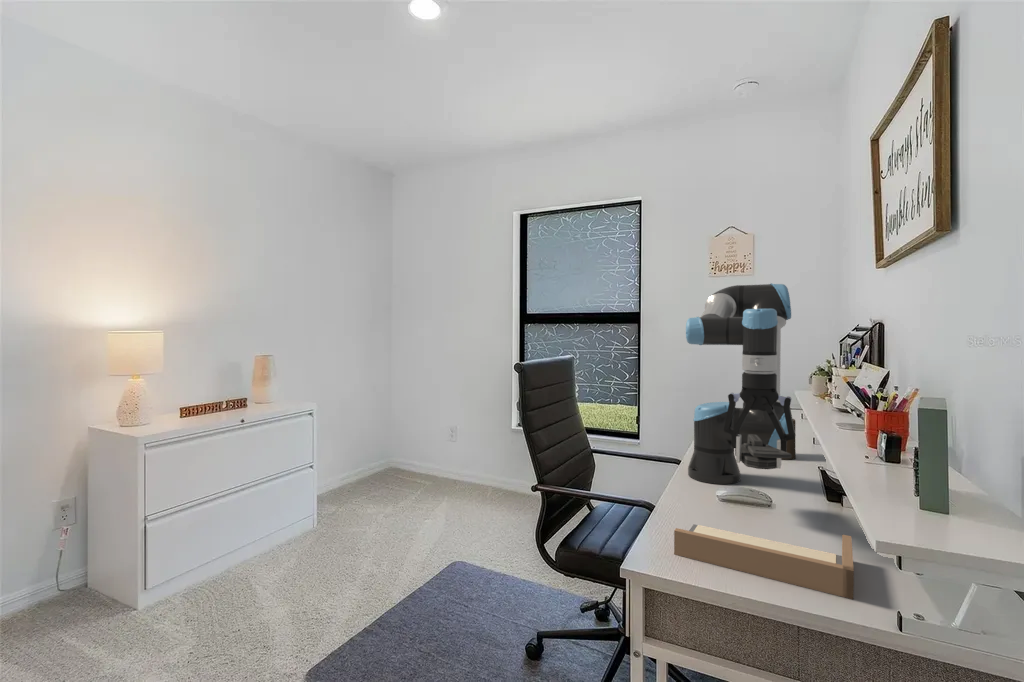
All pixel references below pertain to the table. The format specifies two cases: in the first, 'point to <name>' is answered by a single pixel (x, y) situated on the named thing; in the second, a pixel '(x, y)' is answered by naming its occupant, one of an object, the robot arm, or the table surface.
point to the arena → (770, 558)
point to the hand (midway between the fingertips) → (758, 463)
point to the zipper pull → (760, 454)
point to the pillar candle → (791, 446)
